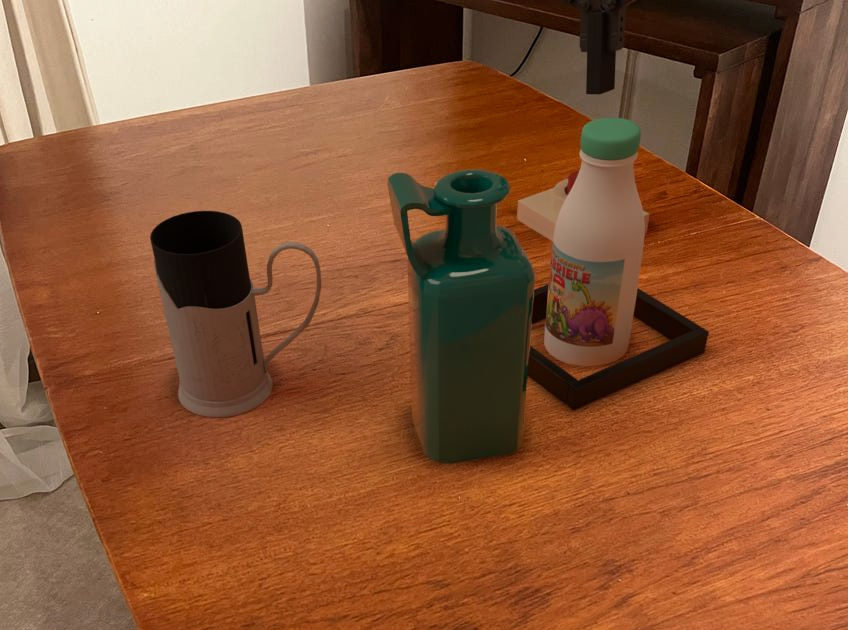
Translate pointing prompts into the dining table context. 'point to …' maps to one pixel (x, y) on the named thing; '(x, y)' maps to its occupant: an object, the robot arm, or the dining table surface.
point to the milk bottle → (597, 250)
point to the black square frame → (578, 393)
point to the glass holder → (216, 312)
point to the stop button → (571, 180)
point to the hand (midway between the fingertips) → (600, 91)
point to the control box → (547, 210)
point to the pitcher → (465, 317)
